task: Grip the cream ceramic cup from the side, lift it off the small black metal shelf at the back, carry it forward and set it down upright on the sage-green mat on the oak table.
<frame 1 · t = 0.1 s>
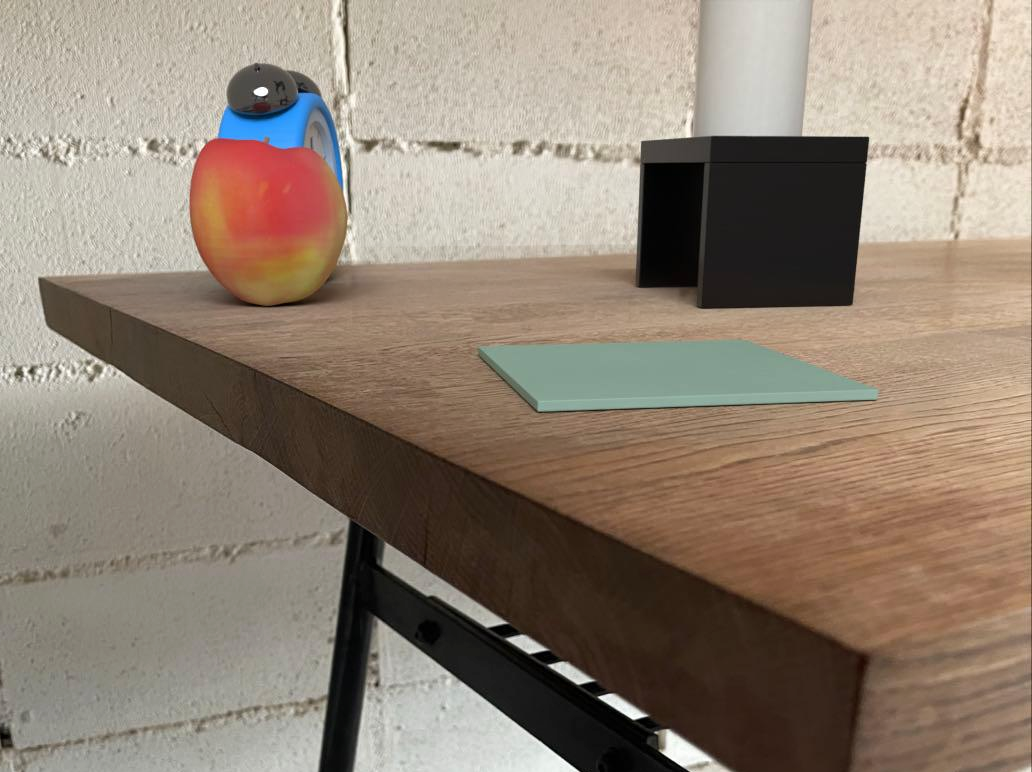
cup: (746, 138, 73), point 10 cm above the table, touching shelf
alarm clock: (287, 284, 85), on the table
mat: (656, 375, 47), on the table
shelf: (735, 294, 77), on the table
apple: (272, 306, 71), on the table
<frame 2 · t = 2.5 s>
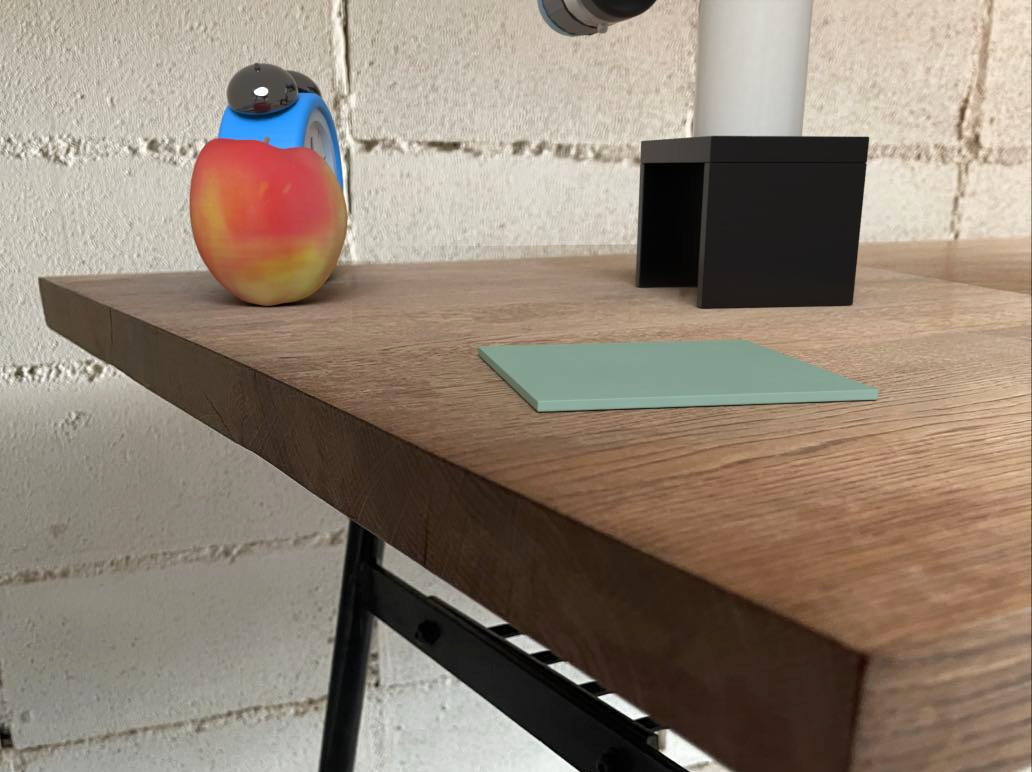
nothing on the table moved.
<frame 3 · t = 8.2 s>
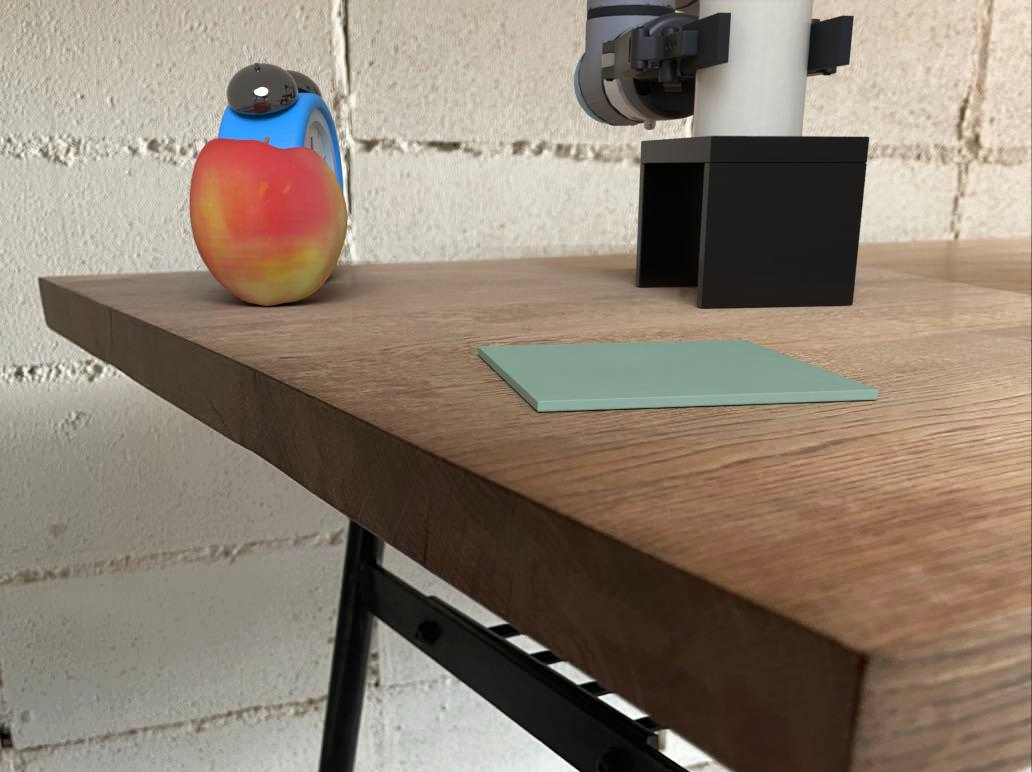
hand: (785, 39, 67), 16 cm above the table, tool horizontal, fingers closed on cup, 7 cm apart
cup: (746, 138, 73), point 10 cm above the table, touching gripper, shelf
everything else where it was.
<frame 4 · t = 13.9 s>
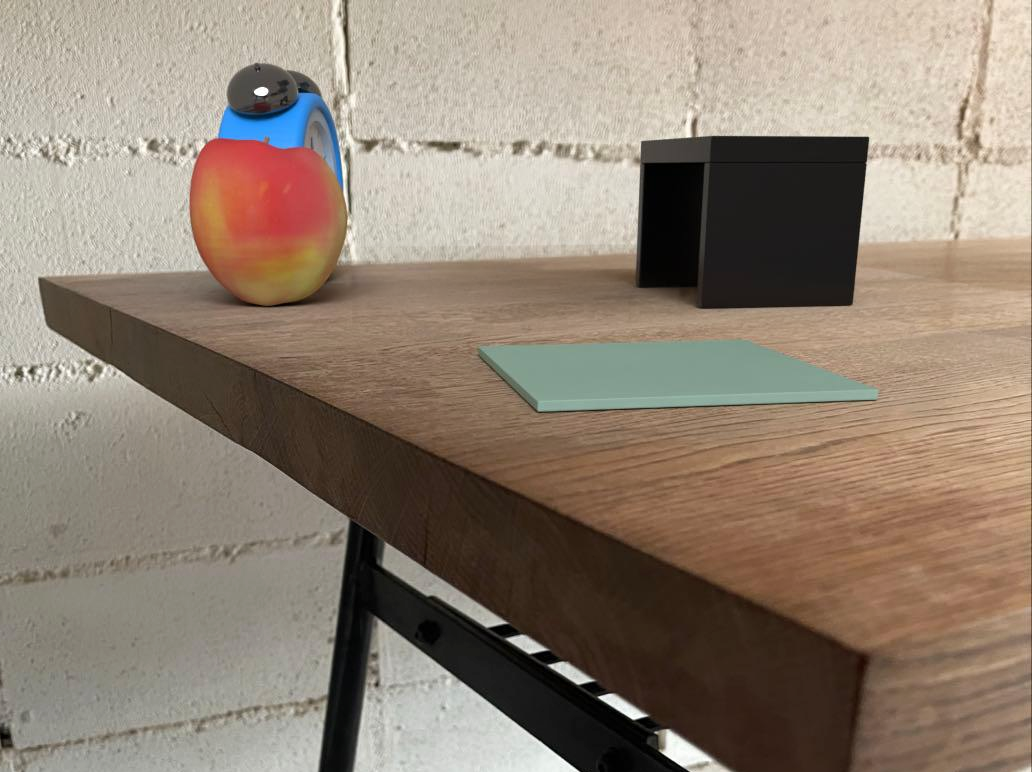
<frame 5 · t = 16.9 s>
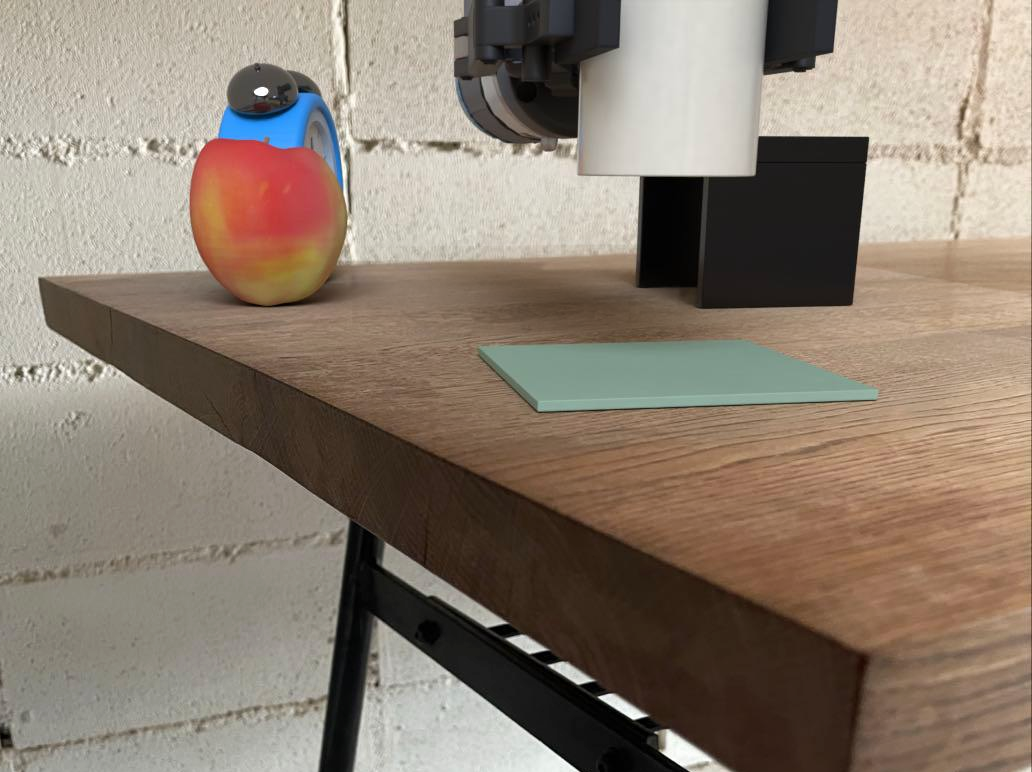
hand: (720, 6, 38), 13 cm above the table, tool horizontal, fingers closed on cup, 7 cm apart
cup: (665, 175, 44), point 8 cm above the table, touching gripper
everything else where it was.
when the fingers open (6 cm above the table, at t = 19.4 s): cup stays where it is, resting on mat.
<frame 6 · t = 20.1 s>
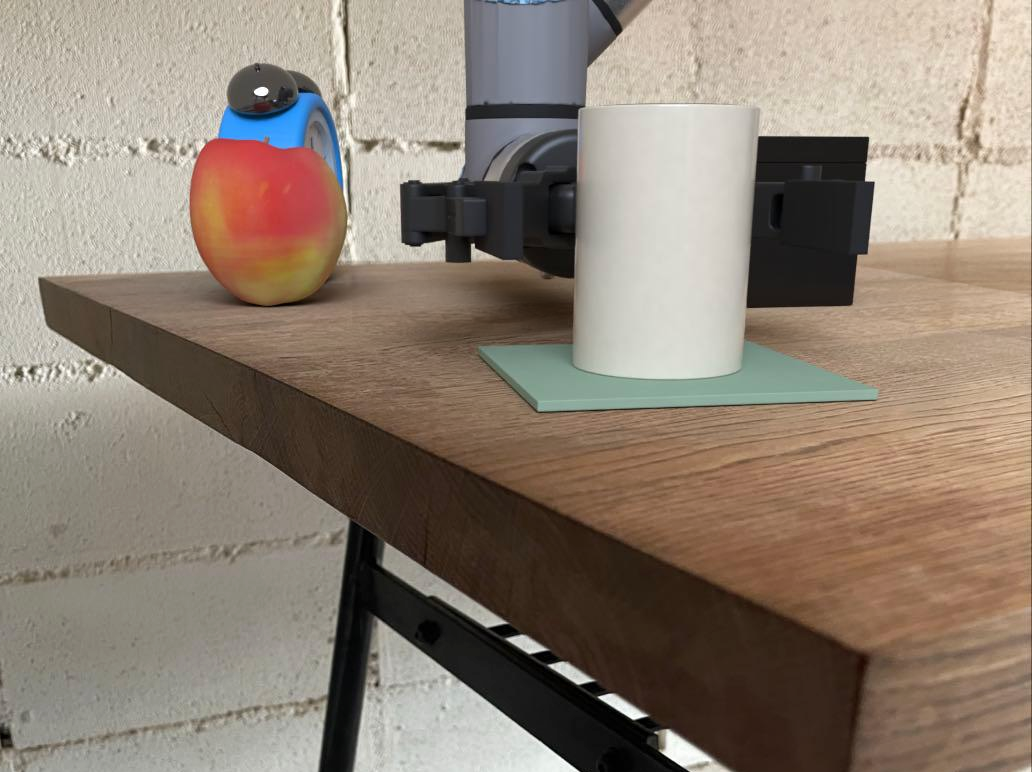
hand: (692, 220, 42), 6 cm above the table, tool horizontal, fingers open, 13 cm apart
cup: (656, 365, 47), resting on mat
everything else where it was.
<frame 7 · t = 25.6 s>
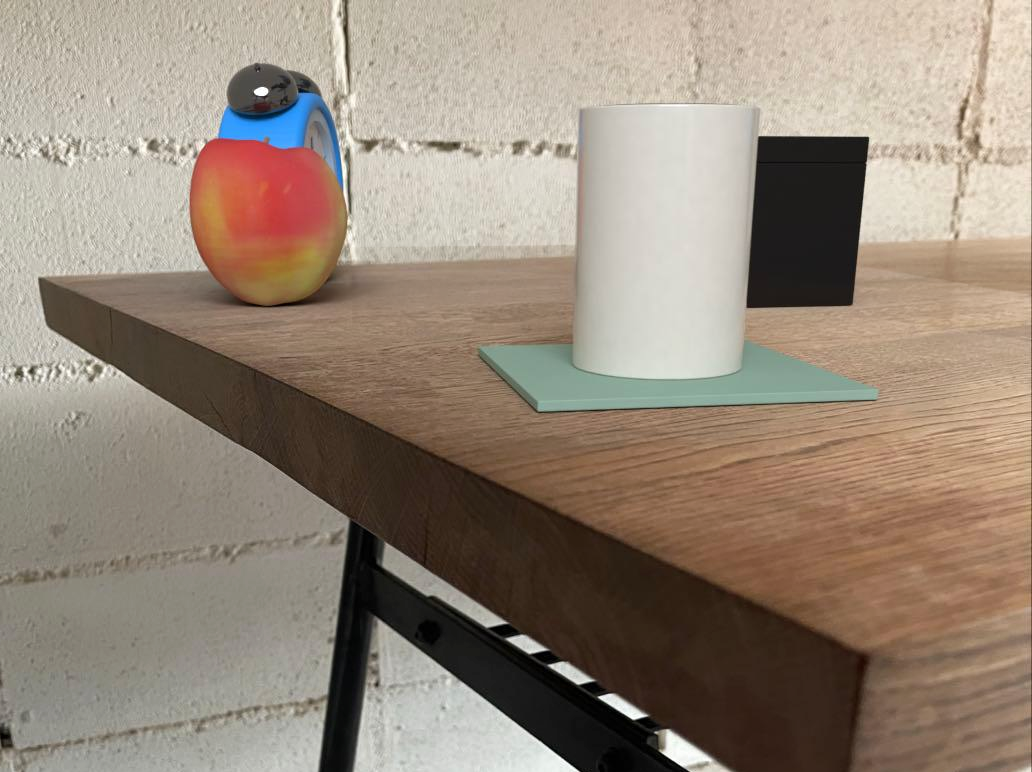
nothing on the table moved.
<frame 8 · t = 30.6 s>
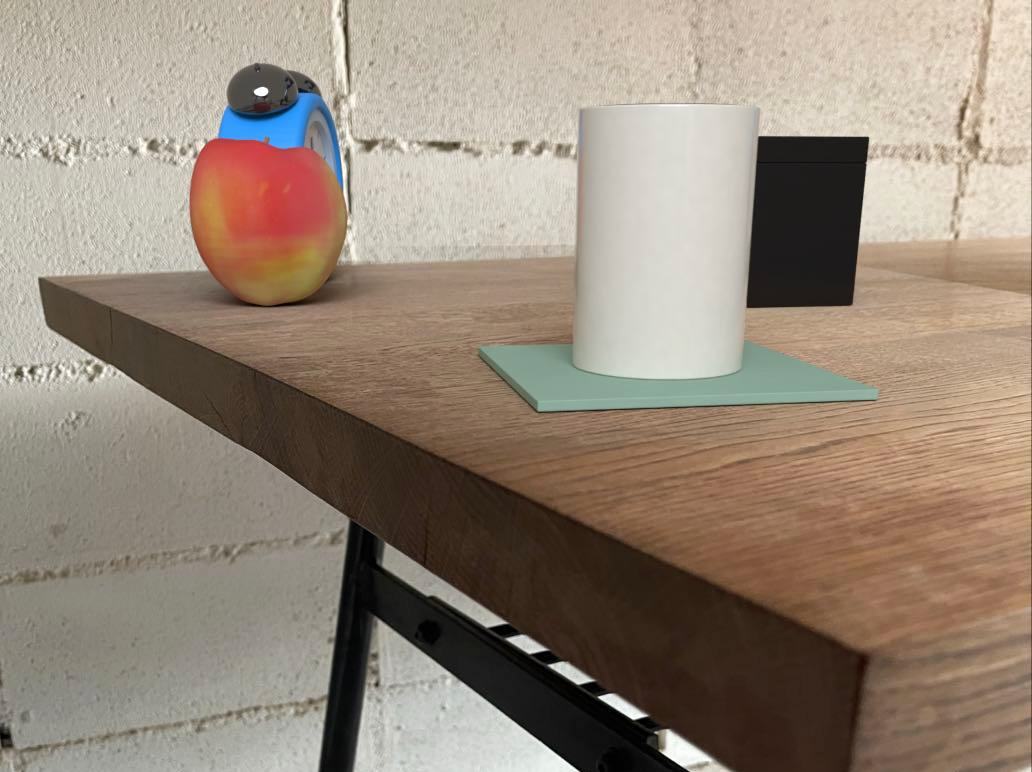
nothing on the table moved.
at the end: cup inside the target area on the mat (0.0 cm from its centre), point 0.4 cm above the mat's base; cup tilted 0°; the gripper is holding nothing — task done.
